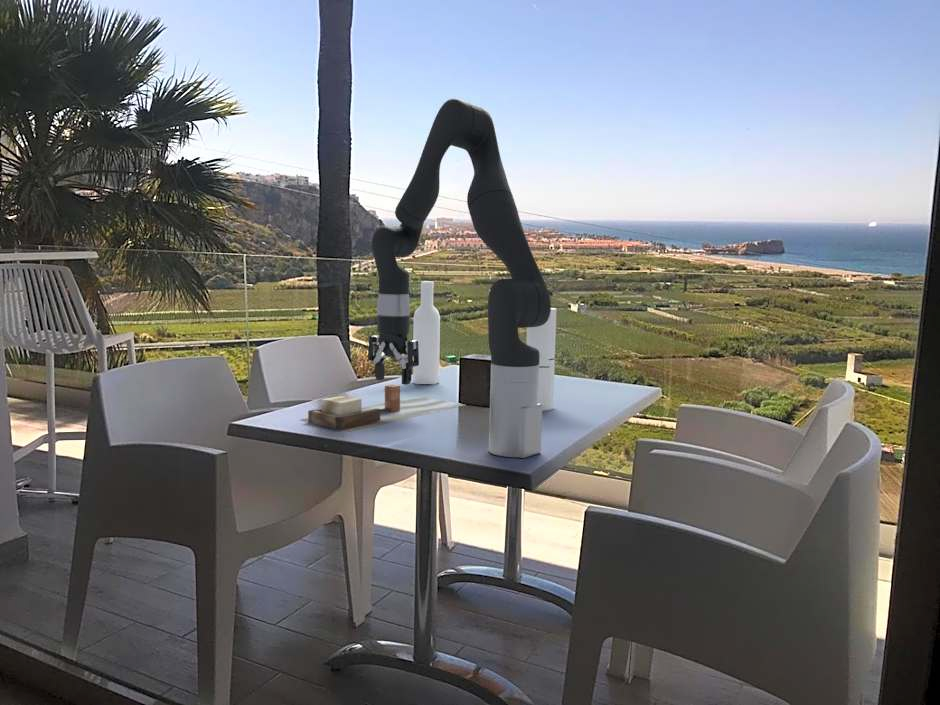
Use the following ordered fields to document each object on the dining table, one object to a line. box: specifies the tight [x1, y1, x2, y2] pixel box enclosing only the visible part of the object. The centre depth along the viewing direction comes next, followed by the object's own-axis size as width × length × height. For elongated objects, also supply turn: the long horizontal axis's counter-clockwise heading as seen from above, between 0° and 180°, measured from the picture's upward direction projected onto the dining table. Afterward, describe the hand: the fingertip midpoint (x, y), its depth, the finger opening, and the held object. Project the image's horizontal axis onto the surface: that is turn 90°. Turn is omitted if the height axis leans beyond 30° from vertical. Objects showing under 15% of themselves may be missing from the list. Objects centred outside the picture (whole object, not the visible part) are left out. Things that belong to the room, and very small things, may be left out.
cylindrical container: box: [525, 307, 557, 412], centre depth 186 cm, size 7×7×25 cm
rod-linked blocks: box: [321, 384, 401, 416], centre depth 169 cm, size 6×20×6 cm, turn 142°
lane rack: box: [300, 396, 467, 432], centre depth 175 cm, size 16×39×3 cm, turn 142°
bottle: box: [412, 280, 441, 385], centre depth 219 cm, size 8×8×30 cm
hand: (392, 381), depth 175 cm, fingers open, 8 cm apart
